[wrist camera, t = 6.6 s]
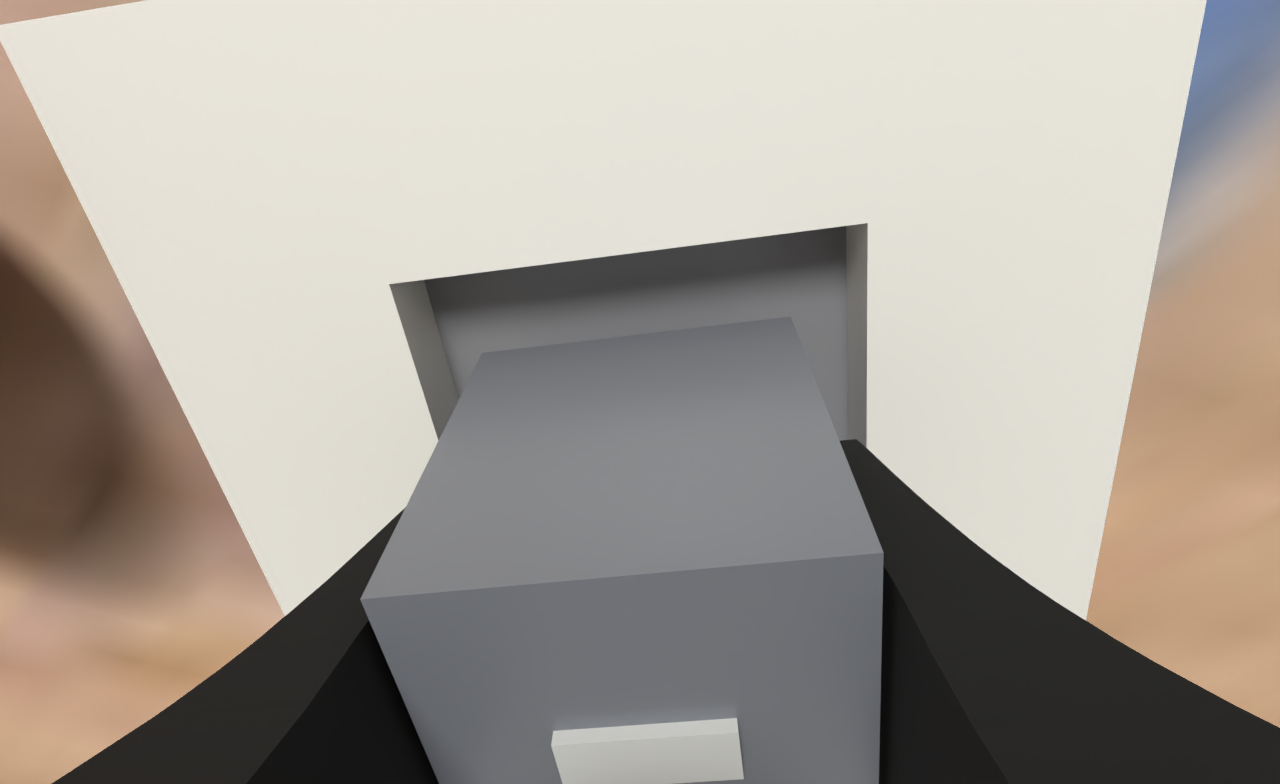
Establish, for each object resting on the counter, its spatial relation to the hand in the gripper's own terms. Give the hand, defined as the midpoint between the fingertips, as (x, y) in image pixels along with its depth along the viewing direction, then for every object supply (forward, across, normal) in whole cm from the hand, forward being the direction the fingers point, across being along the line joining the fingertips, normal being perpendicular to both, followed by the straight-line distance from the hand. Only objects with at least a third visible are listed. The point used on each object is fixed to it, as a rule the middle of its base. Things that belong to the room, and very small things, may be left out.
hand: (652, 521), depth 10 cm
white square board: (+3, 0, 0) cm, 3 cm away
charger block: (+2, 0, 0) cm, 2 cm away
